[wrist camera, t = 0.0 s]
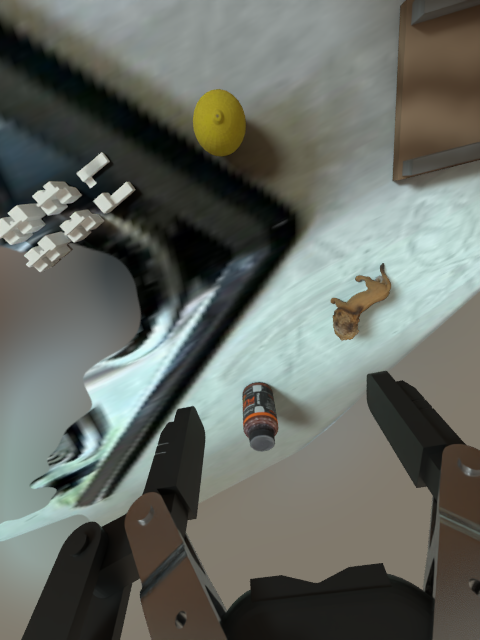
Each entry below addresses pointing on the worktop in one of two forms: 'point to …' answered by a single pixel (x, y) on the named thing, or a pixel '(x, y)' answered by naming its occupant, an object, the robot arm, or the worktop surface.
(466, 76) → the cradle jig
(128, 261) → the worktop surface
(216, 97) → the lemon
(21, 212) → the modular blocks
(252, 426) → the supplement bottle
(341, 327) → the lion figurine
